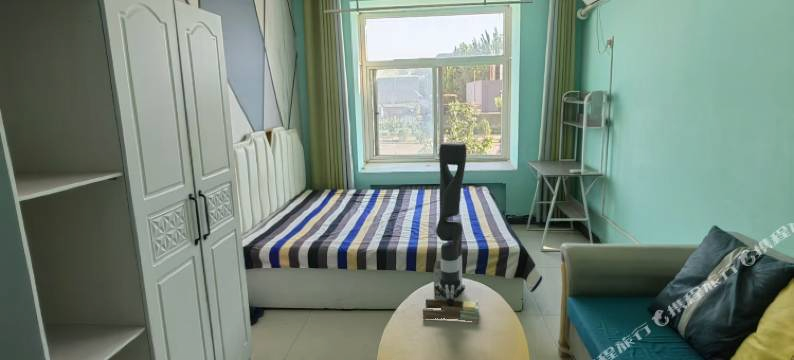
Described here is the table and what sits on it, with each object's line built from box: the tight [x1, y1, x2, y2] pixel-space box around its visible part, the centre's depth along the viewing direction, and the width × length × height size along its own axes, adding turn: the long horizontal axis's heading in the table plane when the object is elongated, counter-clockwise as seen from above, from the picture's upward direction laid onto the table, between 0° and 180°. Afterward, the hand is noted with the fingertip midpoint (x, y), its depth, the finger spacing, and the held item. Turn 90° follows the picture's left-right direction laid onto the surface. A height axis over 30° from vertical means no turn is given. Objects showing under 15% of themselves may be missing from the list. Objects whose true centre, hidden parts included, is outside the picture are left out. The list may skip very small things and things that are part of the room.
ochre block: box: [463, 300, 476, 312], centre depth 190 cm, size 5×5×4 cm
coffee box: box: [433, 260, 447, 300], centre depth 208 cm, size 9×6×16 cm
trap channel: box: [422, 298, 479, 324], centre depth 193 cm, size 10×23×6 cm, turn 79°
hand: (450, 305), depth 193 cm, fingers closed
